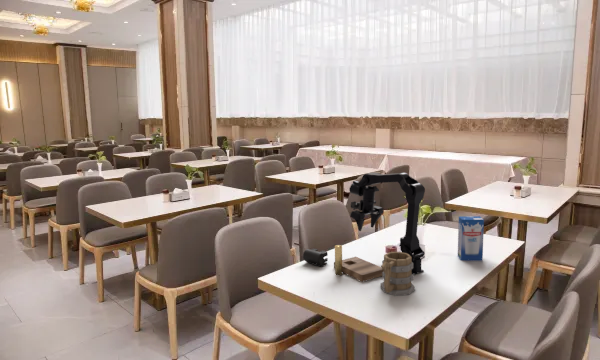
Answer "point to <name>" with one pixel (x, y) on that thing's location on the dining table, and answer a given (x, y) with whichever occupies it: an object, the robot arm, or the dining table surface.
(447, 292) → the dining table surface
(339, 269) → the peg
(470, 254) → the milk carton
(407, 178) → the robot arm
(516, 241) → the dining table surface
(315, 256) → the end cap
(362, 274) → the hole block
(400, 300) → the dining table surface
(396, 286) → the tankard
